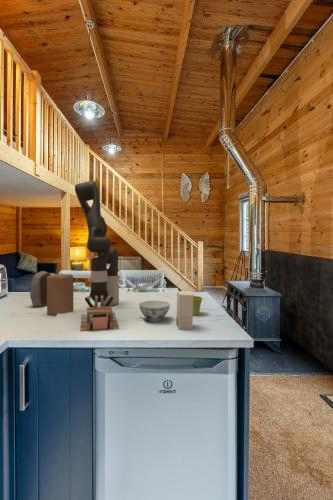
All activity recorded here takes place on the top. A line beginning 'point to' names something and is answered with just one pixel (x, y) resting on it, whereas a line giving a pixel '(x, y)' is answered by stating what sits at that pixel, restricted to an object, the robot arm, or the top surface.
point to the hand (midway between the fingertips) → (99, 317)
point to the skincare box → (184, 309)
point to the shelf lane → (88, 319)
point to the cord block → (100, 321)
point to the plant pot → (196, 304)
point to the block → (59, 293)
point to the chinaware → (154, 309)
